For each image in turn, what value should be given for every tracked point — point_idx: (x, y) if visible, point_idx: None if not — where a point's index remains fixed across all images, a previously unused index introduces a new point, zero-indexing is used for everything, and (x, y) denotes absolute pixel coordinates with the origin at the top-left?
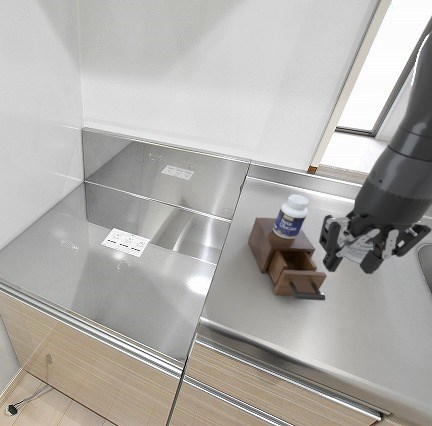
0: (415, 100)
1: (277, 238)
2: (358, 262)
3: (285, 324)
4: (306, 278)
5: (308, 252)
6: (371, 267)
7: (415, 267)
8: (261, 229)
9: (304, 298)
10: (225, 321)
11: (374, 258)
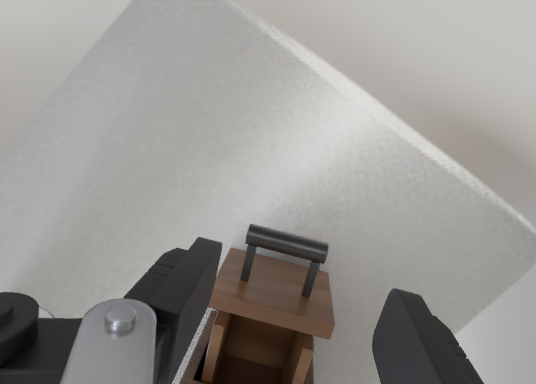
0: None
1: None
2: (47, 314)
3: (352, 192)
4: (266, 297)
5: (195, 377)
6: (206, 267)
7: None
8: None
9: (306, 239)
10: (504, 228)
11: (184, 322)
